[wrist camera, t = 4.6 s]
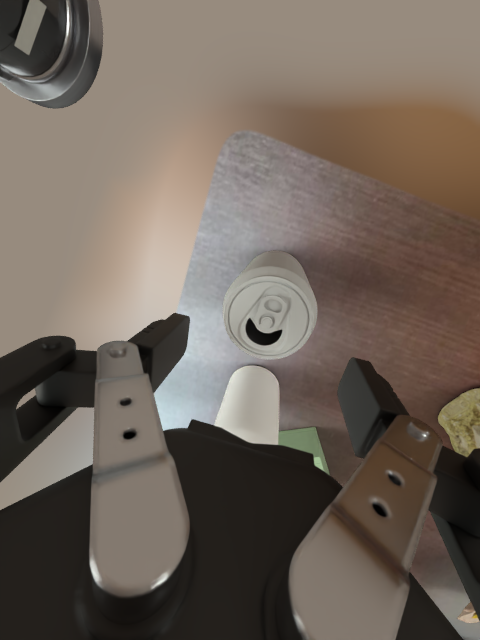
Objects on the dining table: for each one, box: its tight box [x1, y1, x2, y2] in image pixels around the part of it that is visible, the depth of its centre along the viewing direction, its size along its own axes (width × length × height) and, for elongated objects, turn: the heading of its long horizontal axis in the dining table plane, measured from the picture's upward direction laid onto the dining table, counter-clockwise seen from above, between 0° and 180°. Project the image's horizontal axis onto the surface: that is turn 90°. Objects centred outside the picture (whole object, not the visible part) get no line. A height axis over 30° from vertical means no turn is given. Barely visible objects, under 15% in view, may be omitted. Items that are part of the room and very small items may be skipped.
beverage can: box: [223, 251, 317, 360], centre depth 21 cm, size 6×6×12 cm
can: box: [214, 365, 279, 445], centre depth 26 cm, size 6×6×12 cm
